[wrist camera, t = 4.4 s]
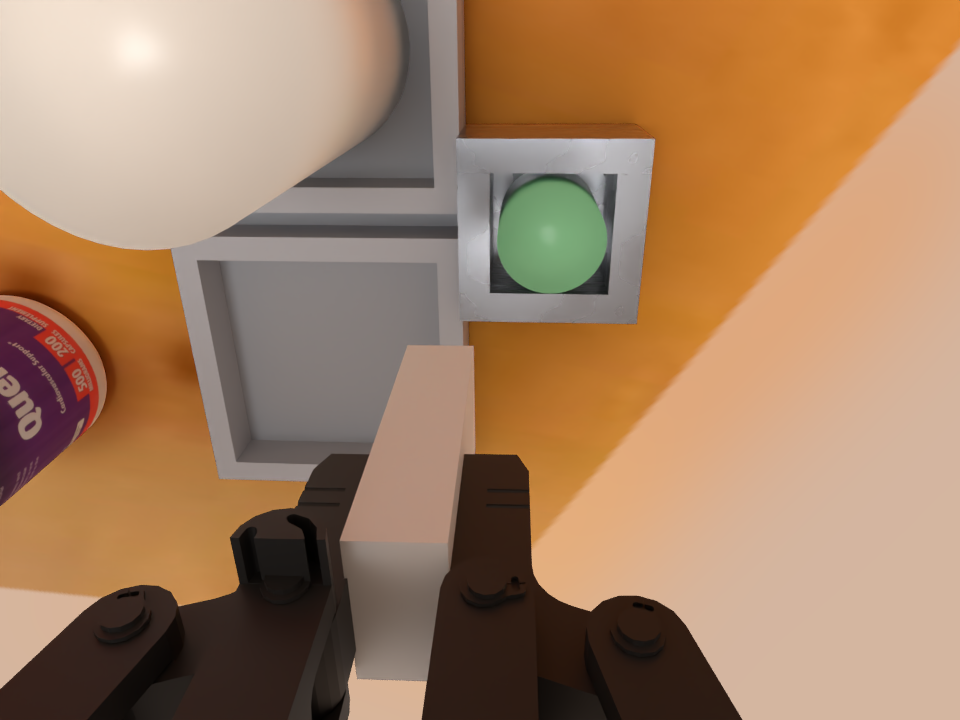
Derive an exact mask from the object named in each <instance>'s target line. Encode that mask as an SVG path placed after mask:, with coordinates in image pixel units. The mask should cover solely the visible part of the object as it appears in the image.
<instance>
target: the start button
mask: <svg viewBox="0 0 960 720" xmlns="http://www.w3.org/2000/svg"><path fill="white" fill-rule="evenodd" d="M606 246H607V230H606V225H605V222H604V219H603V217H602V215H601V212H600V210H599V208H598V206H597V203H596V201H595V199H594V197H593V194H592V192H591V190H590V189H589V187H588V186H587V184H586V183H585V182H584V181H583V180H582V179H581V178H580V177H579V176H577V175H576V174H560V173H525V174H523V175H522V176H520V177H519V178H518V179H517V180H515V181H514V183H513V184H512V185H511V186H510V187H509V189H508V190H507V192H506V194H505V196H504V199H503V201H502V205H501V211H500V218H499V226H498V234H497V249H498V254H499V257H500V260H501V263H502V265H503V267H504V268H505V270H506V271H507V273H508V274H509V275H510V276H511V277H512V278H513V279H514V280H515V281H516V282H517V283H519V284H520V285H522V286H523V287H525V288H527V289H529V290H532V291H535V292H540V293H548V294H553V293H561V292H566V291H569V290H572V289H574V288H576V287H578V286H580V285H581V284H583V283H584V282H586V281H587V280H588V279H589V278H590V277H591V276H592V275H593V274H594V273H595V272H596V270H597V269H598V267H599V266H600V264H601V262H602V260H603V258H604V255H605V251H606Z"/></svg>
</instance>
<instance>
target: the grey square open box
mask: <svg viewBox="0 0 960 720" xmlns="http://www.w3.org/2000/svg"><path fill="white" fill-rule="evenodd" d="M654 147H655V138H654V137H652V136H651V135H650V134H648V133H647V132H646V131H644V130H643V129H642V128H641V127H639V126H638V125H637V124H465V126H464V127H463V129H462V130H461V132H460V133H459V135H458V136H457V138H456V166H457V213H458V261H459V308H460V321H482V322H545V323H609V324H637V314H638V305H639V295H640V285H641V275H642V265H643V255H644V246H645V236H646V226H647V216H648V206H649V196H650V187H651V177H652V167H653V157H654ZM525 173H560V174H576V175H577V176H579V177H580V178H581V179H582V180H583V181H584V182H585V183H586V184H587V186H588V187H589V189H590V190H591V192H592V194H593V197H594V199H595V201H596V203H597V206H598V208H599V210H600V212H601V215H602V217H603V219H604V222H605V225H606V230H607V246H606V251H605V255H604V258H603V260H602V262H601V264H600V266H599V267H598V269H597V270H596V272H595V273H594V274H593V275H592V276H591V277H590V278H589V279H588V280H587V281H586V282H584V283H583V284H581V285H580V286H578V287H576V288H574V289H572V290H569V291H566V292H561V293H553V294H548V293H540V292H535V291H532V290H529V289H527V288H525V287H523V286H522V285H520V284H519V283H517V282H516V281H515V280H514V279H513V278H512V277H511V276H510V275H509V274H508V273H507V271H506V270H505V268H504V267H503V265H502V263H501V260H500V257H499V254H498V249H497V234H498V226H499V218H500V211H501V205H502V201H503V199H504V196H505V194H506V192H507V190H508V189H509V187H510V186H511V185H512V184H513V183H514V181H515V180H517V179H518V178H519V177H520V176H522V175H523V174H525Z"/></svg>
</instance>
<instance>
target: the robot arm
mask: <svg viewBox="0 0 960 720" xmlns="http://www.w3.org/2000/svg"><path fill="white" fill-rule="evenodd" d="M230 540H231V545H232V549H233V554H234V559H235V563H236V568H237V573H238V577H239V582H240V584H239V586H238V588H237V590H236V591H235V592H233V593H231V594H229V595H225V596H222V597H219V598H215V599H211V600H207V601H202V602H198V603H193V604H189V605H184V606H179V607H178V605H177V602H176V600H175V598H174V597H173V595H172V593H171V592H170V591H168V590H165V589H163V588H161V587H159V586H149V585H139V586H134V587H129V588H124V589H121V590H118V591H116V592H114V593H112V594H109V595H107V596H105V597H103V598H101V599H99V600H98V601H97V602H95V603H94V604H93V605H91V606H90V607H89V608H87V609H86V610H84V611H83V612H82V613H81V614H80V615H79V616H78V617H77V618H76V619H75V620H74V621H73V622H72V623H70V624H69V625H68V626H67V627H66V628H65V629H64V630H63V631H62V632H61V633H60V634H59V635H58V636H57V637H56V638H54V639H53V640H52V641H51V642H50V643H49V644H48V645H47V646H46V647H45V648H44V649H43V650H42V651H41V652H40V653H39V654H38V655H36V656H35V657H34V658H33V659H32V660H31V661H30V662H29V663H28V664H27V665H26V666H25V667H24V668H22V669H21V670H20V671H19V672H18V673H17V674H16V675H15V676H14V677H13V678H12V679H11V680H10V681H9V682H8V683H6V684H5V685H4V686H3V687H2V688H1V689H0V720H348V716H349V705H350V704H349V703H350V697H349V690H348V679H349V675H350V672H351V668H352V664H353V660H354V658H355V666H356V674H357V679H376V680H406V681H427V685H426V692H425V700H424V707H423V714H422V720H742V718H741V717H740V715H739V713H738V712H737V710H736V708H735V707H734V705H733V704H732V702H731V700H730V698H729V697H728V695H727V693H726V692H725V690H724V688H723V687H722V685H721V683H720V682H719V680H718V678H717V677H716V675H715V673H714V672H713V670H712V668H711V667H710V665H709V664H708V662H707V660H706V658H705V657H704V655H703V653H702V652H701V650H700V648H699V647H698V645H697V643H696V642H695V640H694V638H693V637H692V635H691V633H690V632H689V630H688V628H687V627H686V625H685V624H684V623H683V622H682V621H681V619H680V618H679V617H678V616H677V615H676V614H675V613H674V611H672V610H671V609H669V608H667V607H665V606H664V605H662V604H661V603H659V602H657V601H655V600H651V599H647V598H644V597H640V596H617V597H614V598H611V599H608V600H605V601H603V602H601V603H600V604H599V605H598V606H597V607H596V608H595V609H594V610H592V611H591V612H590V611H587V610H583V609H580V608H577V607H573V606H571V605H568V604H566V603H563V602H561V601H558V600H557V599H555V598H554V597H552V596H551V595H549V594H548V593H547V592H546V591H545V590H544V589H543V588H542V587H541V586H540V585H539V584H538V582H537V580H536V578H535V576H534V574H533V569H532V559H531V528H530V498H529V471H528V470H527V468H526V467H525V465H524V464H523V463H522V461H521V460H520V458H519V457H518V456H517V455H493V454H475V393H474V346H443V345H407V348H406V351H405V354H404V357H403V360H402V363H401V366H400V368H399V371H398V374H397V377H396V380H395V383H394V386H393V389H392V391H391V394H390V397H389V400H388V403H387V406H386V409H385V412H384V414H383V417H382V420H381V423H380V426H379V429H378V432H377V434H376V437H375V440H374V443H373V446H372V449H371V452H370V454H330V455H329V456H328V457H327V458H326V459H325V460H323V461H322V462H321V463H320V464H319V465H318V466H316V467H315V468H314V469H313V471H312V473H311V475H310V477H309V480H308V482H307V484H306V486H305V491H303V492H302V495H301V497H300V499H299V501H298V506H296V507H295V509H293V508H289V509H279V510H272V511H269V512H266V513H263V514H260V515H258V516H255V517H253V518H252V519H250V520H249V521H247V522H245V523H244V524H242V525H241V526H240V527H239V528H238V529H237V530H236V531H235V532H234V534H233V535H232V536H231V537H230Z"/></svg>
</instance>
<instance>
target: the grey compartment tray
mask: <svg viewBox="0 0 960 720" xmlns="http://www.w3.org/2000/svg"><path fill="white" fill-rule="evenodd" d="M400 2H401V5H402V8H403V11H404V14H405V18H406V22H407V27H408V33H409V42H410V60H409V68H408V75H407V79H406V83H405V86H404V89H403V92H402V94H401V97H400V99H399V102H398V103H397V105H396V107H395V109H394V110H393V112H392V114H391V115H390V116H389V118H388V119H387V120H386V122H385V123H384V124H383V125H382V126H381V127H380V128H379V129H378V130H377V131H376V132H375V133H373V134H372V135H371V136H369V137H368V138H367V139H365V140H364V141H362V142H361V143H359V144H358V145H356V146H354V147H353V148H351V149H350V150H348V151H347V152H345V153H344V154H342V155H341V156H339V157H337V158H336V159H334V160H333V161H331V162H330V163H328V164H327V165H325V166H324V167H322V168H321V169H319V170H317V171H316V172H314V173H313V174H311V175H310V176H308V177H307V178H305V179H304V180H302V181H300V182H299V183H297V184H296V185H294V186H293V187H291V188H290V189H288V190H287V191H285V192H283V193H282V194H280V195H279V196H277V197H276V198H274V199H273V200H271V201H270V202H268V203H267V204H265V205H263V206H262V207H260V208H259V209H257V210H256V211H254V212H253V213H251V214H250V215H248V216H246V217H245V218H243V219H242V220H240V221H239V222H237V223H236V224H234V225H233V226H231V227H229V228H228V229H226V230H224V231H222V232H220V233H218V234H216V235H214V236H213V237H211V238H208V239H205V240H202V241H199V242H197V243H194V244H191V245H186V246H181V247H176V248H171V252H172V257H173V262H174V267H175V271H176V276H177V281H178V286H179V290H180V295H181V300H182V305H183V309H184V314H185V319H186V324H187V328H188V333H189V338H190V342H191V347H192V352H193V357H194V361H195V366H196V371H197V376H198V380H199V385H200V390H201V395H202V399H203V404H204V409H205V414H206V418H207V423H208V428H209V433H210V437H211V442H212V447H213V451H214V456H215V461H216V466H217V470H218V475H219V479H239V480H273V481H307V482H308V480H309V477H310V475H311V473H312V471H313V469H314V468H315V467H316V466H318V465H319V464H320V463H321V462H322V461H323V460H325V459H326V458H327V457H328V456H329V455H330V454H370V452H371V449H372V446H373V443H374V440H375V437H376V434H377V432H378V429H379V426H380V423H381V420H382V417H383V414H384V412H385V409H386V406H387V403H388V400H389V397H390V394H391V391H392V389H393V386H394V383H395V380H396V377H397V374H398V371H399V368H400V366H401V363H402V360H403V357H404V354H405V351H406V348H407V345H443V346H469V321H460V308H459V261H458V213H457V166H456V138H457V136H458V135H459V133H460V132H461V130H462V129H463V127H464V126H465V124H466V115H465V49H464V0H400Z"/></svg>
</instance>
